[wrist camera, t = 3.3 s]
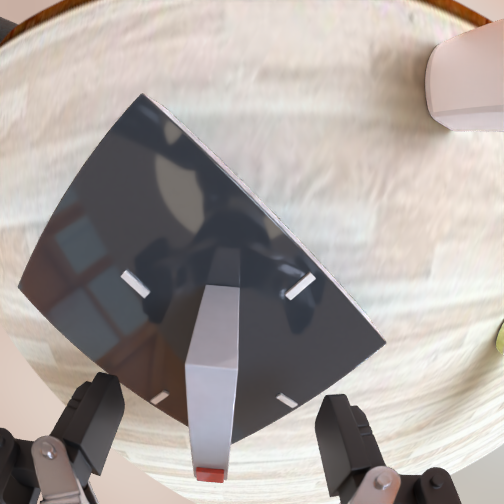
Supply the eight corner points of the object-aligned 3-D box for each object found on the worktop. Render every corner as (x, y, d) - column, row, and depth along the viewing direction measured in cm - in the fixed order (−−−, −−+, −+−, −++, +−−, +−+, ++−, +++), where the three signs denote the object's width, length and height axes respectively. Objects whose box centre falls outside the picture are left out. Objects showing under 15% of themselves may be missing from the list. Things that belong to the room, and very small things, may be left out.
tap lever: (205, 283, 12) (182, 369, 7) (239, 287, 12) (238, 375, 7) (203, 400, 14) (193, 482, 9) (229, 402, 14) (226, 485, 9)
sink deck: (44, 267, 14) (15, 288, 11) (162, 104, 12) (140, 91, 9) (227, 415, 18) (226, 449, 15) (367, 314, 16) (388, 345, 13)
